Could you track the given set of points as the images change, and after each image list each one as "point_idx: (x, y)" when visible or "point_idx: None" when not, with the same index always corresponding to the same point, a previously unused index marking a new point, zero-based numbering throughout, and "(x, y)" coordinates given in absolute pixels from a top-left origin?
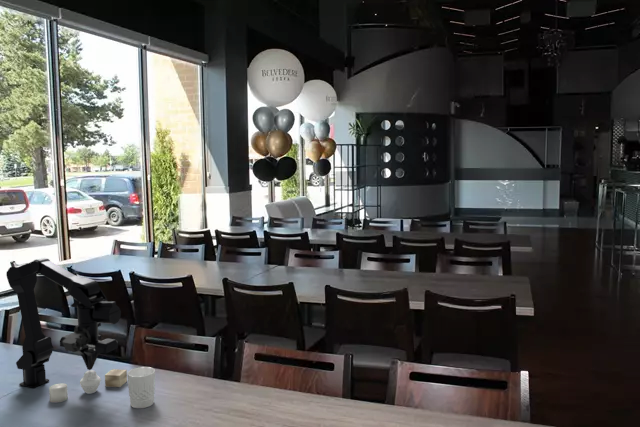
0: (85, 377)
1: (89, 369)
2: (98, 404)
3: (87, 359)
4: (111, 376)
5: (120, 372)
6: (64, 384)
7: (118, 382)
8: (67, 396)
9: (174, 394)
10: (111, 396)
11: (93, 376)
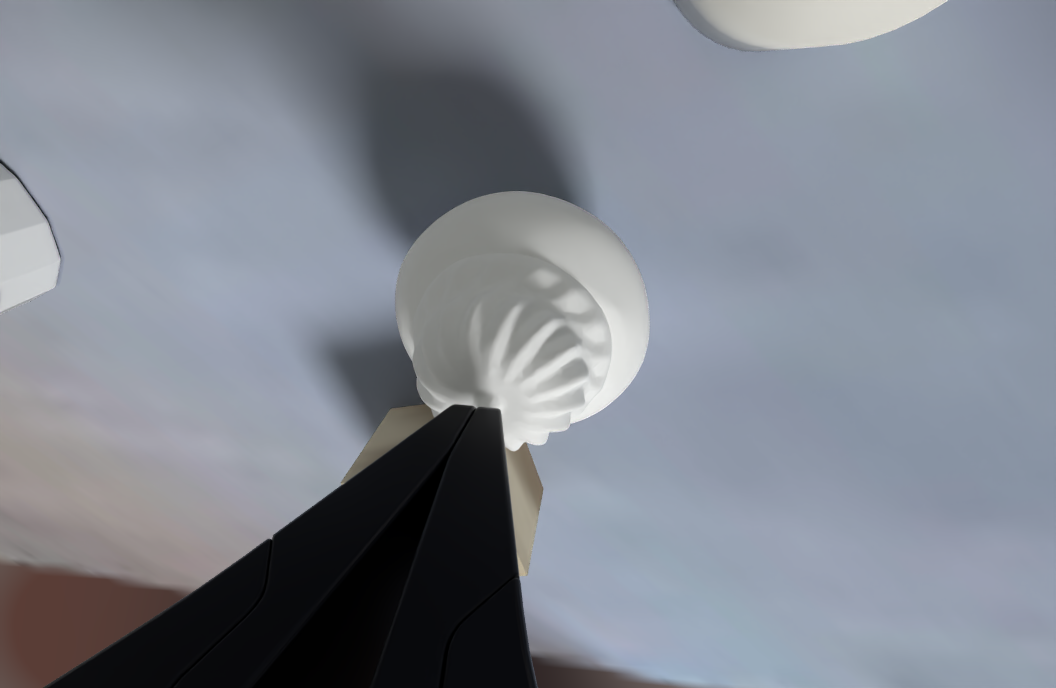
0: (508, 284)
1: (450, 406)
2: (202, 27)
3: (319, 583)
4: None
5: None
6: (798, 7)
7: (383, 434)
8: (678, 2)
9: (16, 400)
10: (284, 244)
11: (418, 341)
